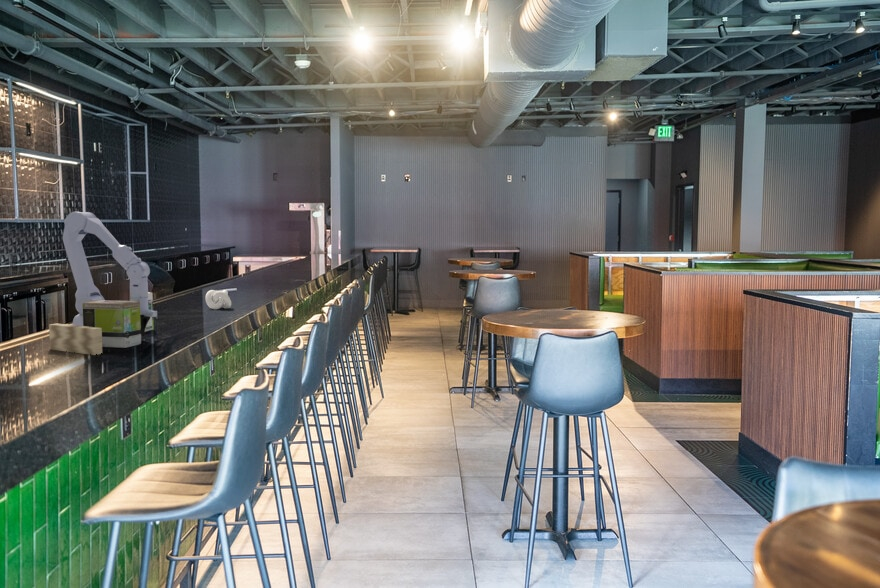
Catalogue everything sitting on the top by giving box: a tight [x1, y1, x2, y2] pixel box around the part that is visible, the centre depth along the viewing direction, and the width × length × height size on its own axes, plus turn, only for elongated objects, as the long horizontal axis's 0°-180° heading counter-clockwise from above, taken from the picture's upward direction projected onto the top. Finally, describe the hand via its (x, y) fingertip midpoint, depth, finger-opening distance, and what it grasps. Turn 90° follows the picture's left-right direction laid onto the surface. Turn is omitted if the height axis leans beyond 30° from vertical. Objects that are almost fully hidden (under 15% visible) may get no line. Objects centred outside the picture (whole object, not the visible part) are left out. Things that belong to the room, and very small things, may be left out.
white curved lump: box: [204, 289, 232, 310], centre depth 347 cm, size 11×12×9 cm
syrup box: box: [140, 291, 155, 333], centre depth 274 cm, size 6×6×14 cm
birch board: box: [48, 323, 103, 356], centre depth 227 cm, size 20×3×8 cm, turn 65°
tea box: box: [83, 299, 142, 349], centre depth 240 cm, size 15×10×15 cm, turn 80°
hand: (139, 336), depth 251 cm, fingers closed
